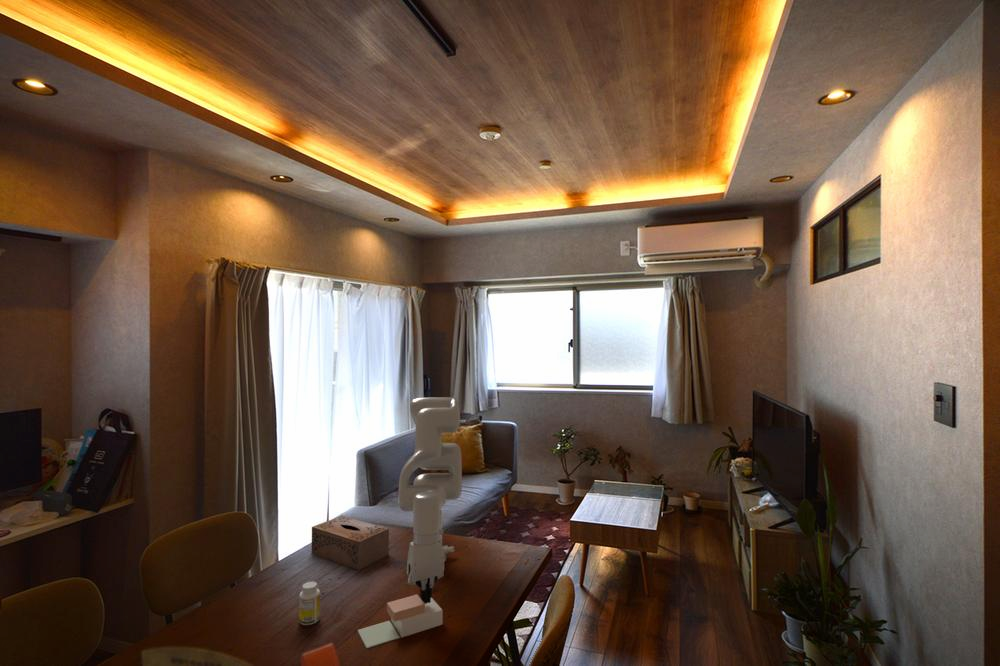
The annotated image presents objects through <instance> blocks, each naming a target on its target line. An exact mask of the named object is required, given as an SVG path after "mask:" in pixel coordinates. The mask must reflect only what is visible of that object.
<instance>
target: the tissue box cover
mask: <svg viewBox="0 0 1000 666" xmlns="http://www.w3.org/2000/svg"><path fill="white" fill-rule="evenodd" d="M389 542H390V529H389V528H387V527H385V526H381V525H377V524H373V523H370V522H367V521H363V520H360V519H356V518H353V517H349V516H346V515H340V516H337V517H334V518H332V519H329V520H326V521H323V522H320V523H318V524H315V525H313V526H311V553H312V554H313V555H317V556H320V557H323V558H325V559H328V560H331V561H333V562H336V563H339V564H342V565H345V566H347V567H350V568H353V569H356V570H358V571H360V570H362V569H363V568H365V567H367V566H369V565H371V564H373V563H376V562H377V561H379V560H381V559H384V558H385V557H387V556H389V554H390V551H389V550H390V543H389Z"/></svg>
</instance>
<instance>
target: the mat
mask: <svg viewBox="0 0 1000 666" xmlns="http://www.w3.org/2000/svg"><path fill="white" fill-rule="evenodd" d="M357 633H358V635H359V637H360V639H361V640H362V643H363V645H364V647H365V649H370V648H373V647H376V646H380V645H382V644H385V643H389V642H392V641H394V640H398V639H401V636H400V634H399V633H398V631H397V630H396V628H395V626H394V625H393V623H392V622H391V620H386V621H383V622H379V623H376V624H374V625H373V624H372V625H370V626H366V627H363V628H359V629H357Z"/></svg>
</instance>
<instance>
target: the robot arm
mask: <svg viewBox="0 0 1000 666" xmlns="http://www.w3.org/2000/svg"><path fill="white" fill-rule="evenodd" d="M409 410H410V411H409V412H410V415H411V417H412V420H413V422H414V425H415V435H414V436H415V437H414V438H415V439H414V442H415V443H414V453H413V455H412V456H411V457H409V459H408V460H407V461H406V462H405V464H404V466H403V467H402V469H401V472H400V473H399V474H400V475H399V481H398V483H399V484H398V492H397V493H398V494H397V499H398V501H397V502H398V506H399V508H400V510H401V511H403V512H412V514H413V515H412V541H410V543H409V547H408V550H407V551H408V552H407V559H406V575H407V577H408V578H407V584H408V585H409V586H417V587H419V597H420V599H421V600H422V601H423V602H424V603H425V604H427V603H430V602H431V598H432V597H433V588H434V585H435V583H436V582H437V581H438V580H439V579H441V578H443V577H444V575H445V574H444V571H445V563H446V562H445V561H447V556H446V555H448V553H449V554H450V553H455V547H454V546H453V545H452V546H448V545H444V546H443V534H444V533H445V532H444V529H443V512H442V509H443V508H444V505H446V503H447V501H452V500H458V499H460V497H461V495H462V489H463V478H462V477H463V473H462V471H463V469H462V467H463V466H462V464H463V463H462V461H463V459H462V450H461V447H460V445H459V444H457V443H455V442H442V434H447V433H449V434H452V433H453V434H454V433H457V432H458V430H459V428H460V424H461V415H460V412H461V411H460V404H459V401H458V399H457V398H455V397H448V396H446V397H445V396H444V397H441V396H440V397H438V396H437V397H436V396H435V397H432V396H431V397H429V396H428V397H417V398H414V399H412V400H411V401H410V403H409ZM418 468H420V469H421V470H424V471H425V470H426V471H441V470H442V471H443V470H447V471H448V472H433V473H432V472H431V473H422V474H418V475H417V476H416V477H415V478H414V480H413V484H410V485H409V480H410V477H411V475H412V474H413V473H414V471H416V470H417V469H418ZM444 562H445V563H444Z"/></svg>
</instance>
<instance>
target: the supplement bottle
mask: <svg viewBox="0 0 1000 666" xmlns="http://www.w3.org/2000/svg"><path fill="white" fill-rule="evenodd" d="M301 587H302V588H301V591H300V592H299V597H298V600H299V603H298V604H299V606H298V607H299V611H298V614H299V617H298V618H299V620H298V621H299V623H300V624H301V625H303V626H311V625H314V624H317V623H318V622H319V620H320V618H321V591H320V589H319V588H318V583H317V581H308V582H305V583H304V584H302V586H301Z"/></svg>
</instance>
